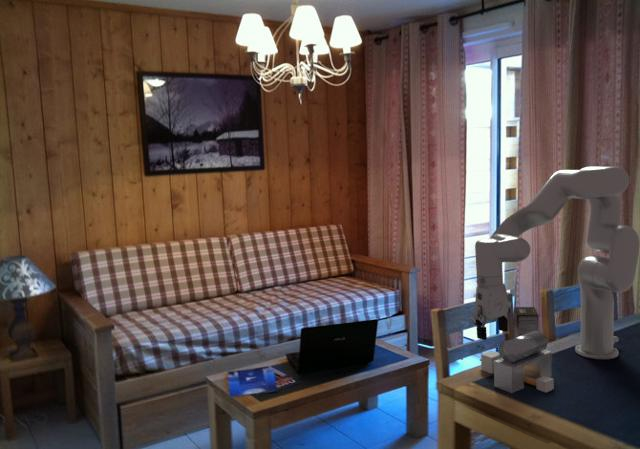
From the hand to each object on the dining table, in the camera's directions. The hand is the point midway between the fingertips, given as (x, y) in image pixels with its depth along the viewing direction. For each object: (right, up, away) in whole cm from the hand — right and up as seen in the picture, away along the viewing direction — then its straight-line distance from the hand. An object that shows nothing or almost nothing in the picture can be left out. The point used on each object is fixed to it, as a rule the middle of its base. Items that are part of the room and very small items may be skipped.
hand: (492, 334), depth 172 cm
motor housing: (+6, -12, -9) cm, 16 cm away
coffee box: (+13, -10, +8) cm, 18 cm away
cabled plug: (+5, -12, -6) cm, 14 cm away
